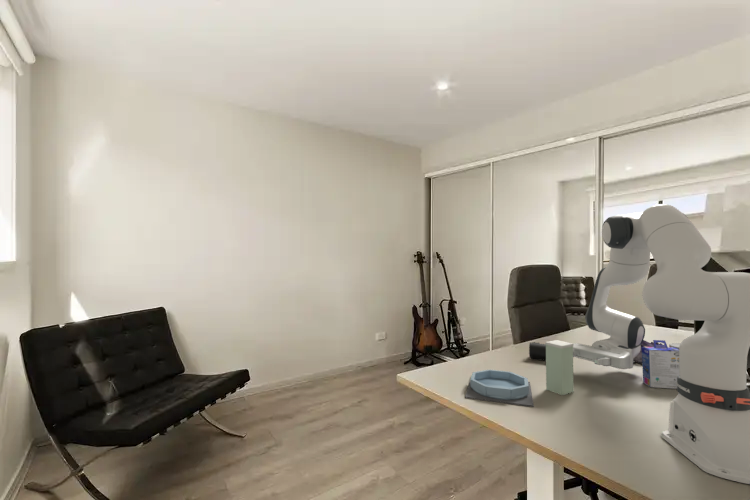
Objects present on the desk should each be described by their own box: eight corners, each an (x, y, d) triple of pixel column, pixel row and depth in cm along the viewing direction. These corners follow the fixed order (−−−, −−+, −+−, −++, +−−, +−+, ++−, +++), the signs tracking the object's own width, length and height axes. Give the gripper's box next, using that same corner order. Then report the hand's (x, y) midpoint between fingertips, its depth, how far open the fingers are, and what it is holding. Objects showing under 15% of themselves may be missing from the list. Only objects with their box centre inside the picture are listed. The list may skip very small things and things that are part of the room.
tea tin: (574, 392, 112) (573, 343, 112) (562, 395, 109) (561, 346, 109) (557, 386, 117) (556, 339, 117) (545, 389, 114) (545, 342, 114)
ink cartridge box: (674, 383, 118) (674, 340, 118) (685, 390, 113) (684, 344, 113) (641, 381, 120) (640, 338, 120) (650, 387, 115) (649, 342, 115)
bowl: (530, 403, 102) (529, 392, 103) (468, 395, 109) (468, 384, 109) (527, 382, 119) (527, 373, 119) (473, 376, 125) (473, 367, 125)
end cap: (529, 360, 145) (529, 344, 145) (530, 356, 151) (530, 340, 151) (556, 364, 140) (556, 347, 140) (557, 359, 146) (556, 343, 146)
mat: (533, 407, 101) (533, 405, 101) (465, 397, 108) (465, 396, 108) (529, 383, 120) (529, 381, 120) (471, 376, 126) (471, 375, 126)
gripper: (577, 337, 135) (553, 342, 128) (637, 350, 117) (614, 356, 110) (577, 354, 135) (553, 359, 128) (638, 369, 117) (614, 376, 110)
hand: (582, 358), depth 119 cm, fingers open, 8 cm apart
